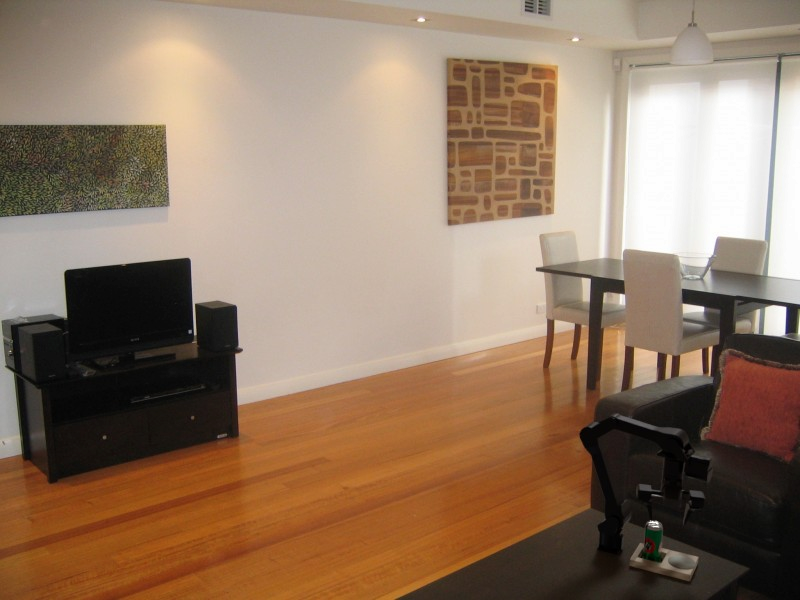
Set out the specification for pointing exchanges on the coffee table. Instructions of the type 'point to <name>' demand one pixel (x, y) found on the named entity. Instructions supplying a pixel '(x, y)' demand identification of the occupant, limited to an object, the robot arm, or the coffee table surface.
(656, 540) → the soda can
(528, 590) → the coffee table surface
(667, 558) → the pocket board
